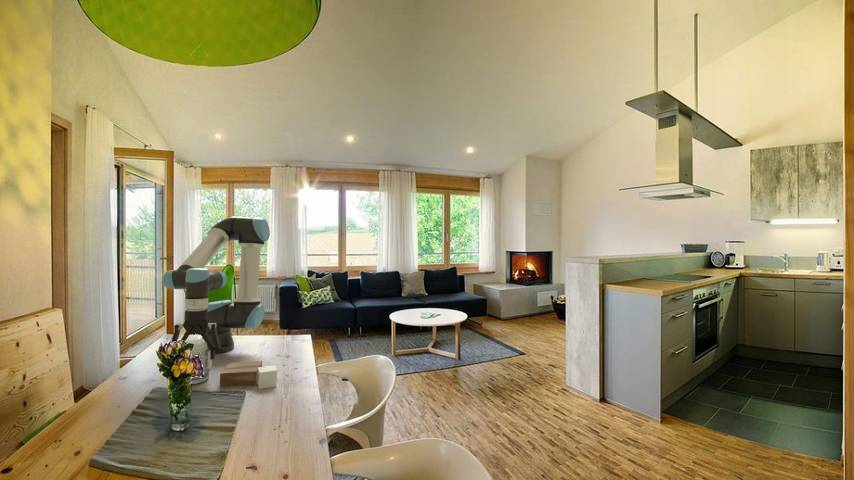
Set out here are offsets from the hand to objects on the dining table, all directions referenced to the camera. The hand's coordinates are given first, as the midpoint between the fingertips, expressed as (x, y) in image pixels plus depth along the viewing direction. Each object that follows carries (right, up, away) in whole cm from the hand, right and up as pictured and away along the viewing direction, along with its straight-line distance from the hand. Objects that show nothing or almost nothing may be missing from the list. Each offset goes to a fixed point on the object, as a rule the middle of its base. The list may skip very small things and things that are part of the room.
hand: (194, 368), depth 140 cm
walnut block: (+17, -5, +2) cm, 18 cm away
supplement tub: (0, -5, 0) cm, 5 cm away
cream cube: (+28, -6, -1) cm, 29 cm away
